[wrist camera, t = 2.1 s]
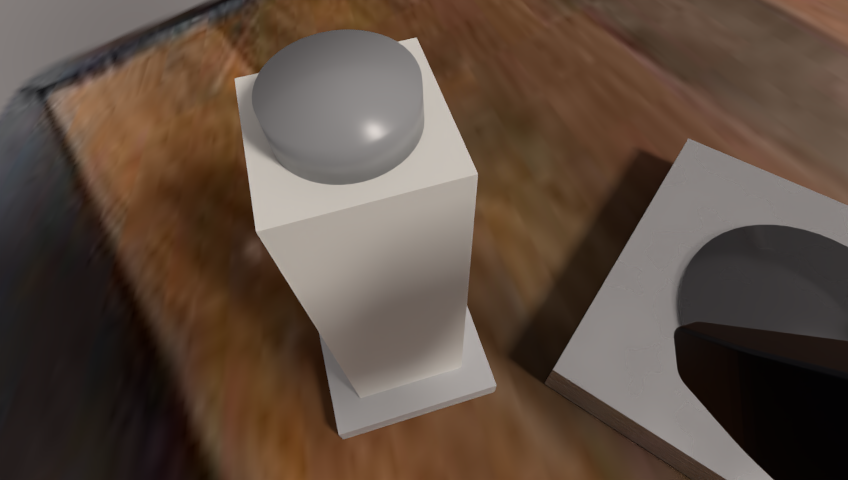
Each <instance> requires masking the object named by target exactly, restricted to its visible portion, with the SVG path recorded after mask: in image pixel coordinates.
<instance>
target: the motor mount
mask: <svg viewBox="0 0 848 480" xmlns="http://www.w3.org/2000/svg"><path fill="white" fill-rule="evenodd" d="M696 321H702V322H709V323H717V324H724V325H732V326H740V327H747V328H755V329H762V330H770V331H777V332H785V333H792V334H800V335H807V336H815V337H822V338H830V339H837V340H845V341H848V205H845V204H843V203H840V202H838V201H836V200H833V199H831V198H829V197H826V196H824V195H821V194H819V193H817V192H814V191H812V190H810V189H807V188H805V187H802V186H800V185H798V184H795V183H793V182H791V181H788V180H786V179H783V178H781V177H779V176H776V175H774V174H772V173H769V172H767V171H764V170H762V169H760V168H757V167H755V166H753V165H750V164H748V163H745V162H743V161H741V160H738V159H736V158H734V157H731V156H729V155H726V154H724V153H722V152H719V151H717V150H714V149H712V148H710V147H707V146H705V145H703V144H700V143H698V142H695V141H693V140H691V139H688V140H687V142H686V143H685V145H684V147H683V148H682V150H681V152H680V153H679V155H678V157H677V158H676V160H675V162H674V163H673V165H672V167H671V168H670V170H669V172H668V173H667V175H666V177H665V178H664V180H663V182H662V184H661V185H660V187H659V189H658V190H657V192H656V194H655V195H654V197H653V199H652V201H651V202H650V204H649V206H648V207H647V209H646V211H645V213H644V214H643V216H642V218H641V219H640V221H639V223H638V224H637V226H636V228H635V230H634V231H633V233H632V235H631V236H630V238H629V240H628V241H627V243H626V245H625V247H624V248H623V250H622V252H621V253H620V255H619V257H618V259H617V260H616V262H615V264H614V265H613V267H612V269H611V270H610V272H609V274H608V276H607V277H606V279H605V281H604V282H603V284H602V286H601V288H600V289H599V291H598V293H597V294H596V296H595V298H594V299H593V301H592V303H591V305H590V306H589V308H588V310H587V311H586V313H585V315H584V316H583V318H582V320H581V322H580V323H579V325H578V327H577V328H576V330H575V332H574V334H573V335H572V337H571V339H570V340H569V342H568V344H567V345H566V347H565V349H564V351H563V352H562V354H561V356H560V357H559V359H558V361H557V362H556V364H555V366H554V368H553V369H552V371H551V373H550V374H549V376H548V378H547V380H546V381H545V383H544V384H545V385H547V386H548V387H550V388H551V389H553V390H555V391H556V392H558V393H559V394H561V395H562V396H564V397H565V398H567V399H568V400H570V401H572V402H573V403H575V404H576V405H578V406H579V407H581V408H582V409H584V410H585V411H587V412H589V413H590V414H592V415H593V416H595V417H596V418H598V419H599V420H601V421H602V422H604V423H606V424H607V425H609V426H610V427H612V428H613V429H615V430H616V431H618V432H619V433H621V434H623V435H624V436H626V437H627V438H629V439H630V440H632V441H633V442H635V443H636V444H638V445H640V446H641V447H643V448H644V449H646V450H647V451H649V452H650V453H652V454H653V455H655V456H657V457H658V458H660V459H661V460H663V461H664V462H666V463H667V464H669V465H670V466H672V467H674V468H675V469H677V470H678V471H680V472H681V473H683V474H684V475H686V476H688V477H689V478H691V479H692V480H773V479H772V478H771V477H770V476H769V475H768V474H767V473H766V472H765V471H764V470H763V469H762V468H761V467H759V466H758V465H757V464H756V463H755V462H754V461H753V460H752V459H751V458H750V457H749V456H748V455H747V454H746V453H745V452H744V451H743V450H742V448H741V447H740V446H739V445H738V444H737V443H736V442H735V441H734V440H733V439H732V438H731V436H730V435H729V434H728V433H727V432H726V431H725V430H724V428H723V427H722V426H721V425H720V424H719V423H718V422H717V421H716V419H715V418H714V417H713V416H712V415H711V414H710V413H709V411H708V410H707V409H706V408H705V407H704V406H703V405H702V403H701V402H700V401H699V400H698V399H697V398H696V397H695V395H694V394H693V393H692V392H691V391H690V390H689V389H688V387H687V386H686V385H685V384H684V383H683V381H682V380H681V378H680V376H679V373H678V370H677V363H676V354H675V345H674V331H675V330H676V328H677V327H679V326H682V325H685V324H689V323H692V322H696Z"/></svg>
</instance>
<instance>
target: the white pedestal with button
mask: <svg viewBox="0 0 848 480" xmlns="http://www.w3.org/2000/svg"><path fill="white" fill-rule="evenodd" d="M235 85H236V92H237V99H238V107H239V114H240V121H241V128H242V135H243V143H244V150H245V157H246V164H247V171H248V179H249V186H250V193H251V200H252V207H253V215H254V222H255V229H256V233H257V235H258V236H259V238H260V239H261V241H262V243H263V244H264V246H265V247H266V249H267V250H268V252H269V254H270V255H271V257H272V258H273V260H274V262H275V263H276V265H277V266H278V268H279V270H280V271H281V273H282V274H283V276H284V278H285V279H286V281H287V282H288V284H289V285H290V287H291V289H292V290H293V292H294V293H295V295H296V297H297V298H298V300H299V301H300V303H301V305H302V306H303V308H304V309H305V311H306V312H307V314H308V316H309V317H310V319H311V320H312V322H313V324H314V325H315V327H316V328H317V330H318V332H319V336H320V341H321V346H322V351H323V356H324V362H325V367H326V372H327V377H328V382H329V387H330V393H331V398H332V403H333V408H334V413H335V418H336V424H337V429H338V434H339V436H340V437H341V438H342V439H346V438H350V437H353V436H356V435H359V434H362V433H365V432H369V431H372V430H375V429H378V428H381V427H384V426H388V425H391V424H394V423H397V422H400V421H404V420H407V419H410V418H413V417H416V416H419V415H423V414H426V413H429V412H432V411H435V410H438V409H442V408H445V407H448V406H451V405H454V404H457V403H461V402H464V401H467V400H470V399H473V398H476V397H480V396H483V395H486V394H489V393H492V392H495V389H496V383H495V380H494V377H493V375H492V372H491V369H490V367H489V364H488V361H487V358H486V356H485V353H484V350H483V348H482V345H481V342H480V340H479V337H478V334H477V331H476V329H475V326H474V323H473V321H472V318H471V315H470V312H469V310H468V307H467V295H468V284H469V272H470V260H471V249H472V237H473V226H474V214H475V202H476V191H477V179H478V173H477V171H476V169H475V166H474V164H473V162H472V160H471V157H470V155H469V153H468V151H467V149H466V146H465V144H464V142H463V140H462V137H461V135H460V133H459V131H458V129H457V126H456V124H455V122H454V120H453V117H452V115H451V113H450V111H449V109H448V106H447V104H446V102H445V100H444V97H443V95H442V93H441V91H440V88H439V86H438V84H437V82H436V80H435V77H434V75H433V73H432V71H431V68H430V66H429V64H428V62H427V60H426V57H425V55H424V53H423V51H422V48H421V46H420V44H419V42H418V40H417V38H412V39H408V40H404V41H399V42H397V41H395V40H393V39H391V38H389V37H386V36H384V35H381V34H377V33H374V32H369V31H363V30H335V31H328V32H322V33H318V34H314V35H311V36H308V37H305V38H302V39H300V40H298V41H296V42H294V43H292V44H290V45H288V46H287V47H285V48H283V49H282V50H281V51H279V52H278V53H276V54H275V55H274V56H273V57H272V58H271V59H270V60H269V61H268V62H267V63H266V64H265V65H264V66H263V68H262V69H261V71H260V72H259V73H257V74H253V75H248V76H244V77H239V78H235Z"/></svg>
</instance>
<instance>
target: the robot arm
mask: <svg viewBox="0 0 848 480" xmlns="http://www.w3.org/2000/svg"><path fill="white" fill-rule="evenodd" d="M674 345H675V354H676V363H677V370H678V373H679V376H680V378H681V380H682V381H683V383H684V384H685V385H686V386H687V387H688V389H689V390H690V391H691V392H692V393H693V394H694V395H695V397H696V398H697V399H698V400H699V401H700V402H701V403H702V405H703V406H704V407H705V408H706V409H707V410H708V411H709V413H710V414H711V415H712V416H713V417H714V418H715V419H716V421H717V422H718V423H719V424H720V425H721V426H722V427H723V428H724V430H725V431H726V432H727V433H728V434H729V435H730V436H731V438H732V439H733V440H734V441H735V442H736V443H737V444H738V445H739V446H740V447H741V448H742V450H743V451H744V452H745V453H746V454H747V455H748V456H749V457H750V458H751V459H752V460H753V461H754V462H755V463H756V464H757V465H758V466H759V467H761V468H762V469H763V470H764V471H765V472H766V473H767V474H768V475H769V476H770V477H771V478H772V479H773V480H848V341H845V340H837V339H830V338H822V337H815V336H807V335H800V334H792V333H785V332H777V331H770V330H762V329H755V328H747V327H740V326H732V325H724V324H717V323H709V322H702V321H696V322H692V323H689V324H685V325H682V326H679V327H677V328H676V330H675V331H674Z"/></svg>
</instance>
